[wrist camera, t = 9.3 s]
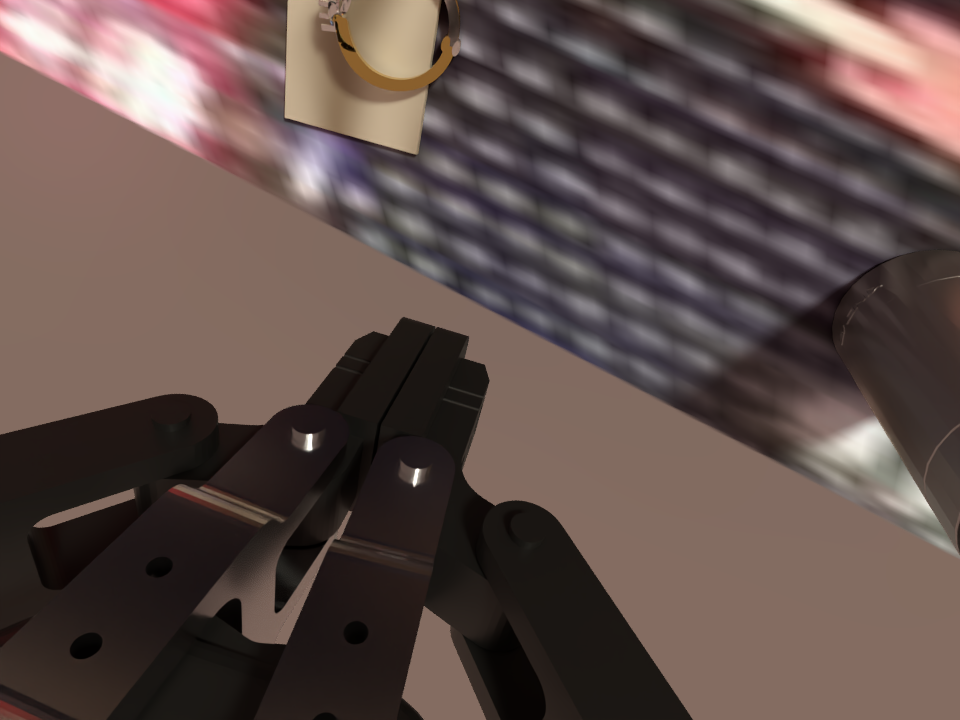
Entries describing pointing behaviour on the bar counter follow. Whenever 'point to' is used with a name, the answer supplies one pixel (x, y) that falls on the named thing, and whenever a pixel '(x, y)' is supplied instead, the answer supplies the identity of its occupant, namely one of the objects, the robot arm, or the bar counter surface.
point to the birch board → (344, 94)
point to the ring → (337, 13)
